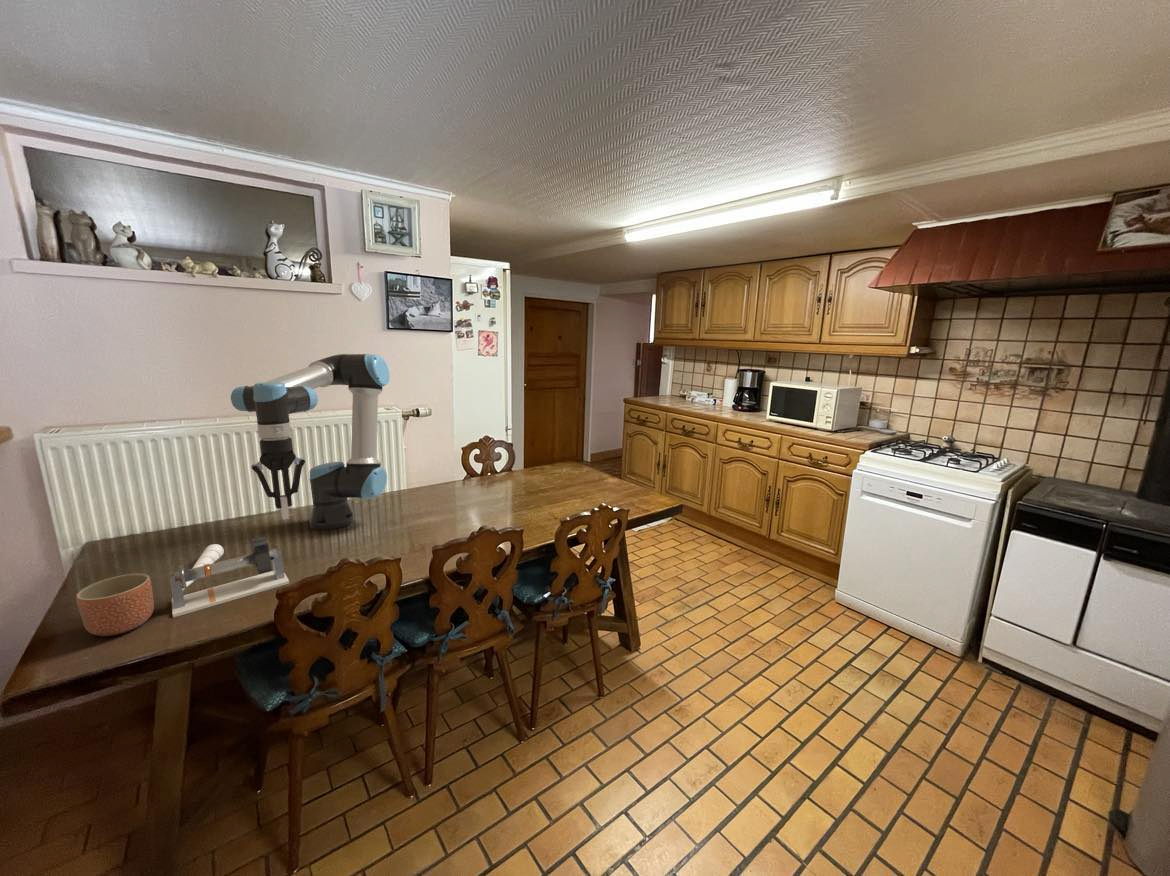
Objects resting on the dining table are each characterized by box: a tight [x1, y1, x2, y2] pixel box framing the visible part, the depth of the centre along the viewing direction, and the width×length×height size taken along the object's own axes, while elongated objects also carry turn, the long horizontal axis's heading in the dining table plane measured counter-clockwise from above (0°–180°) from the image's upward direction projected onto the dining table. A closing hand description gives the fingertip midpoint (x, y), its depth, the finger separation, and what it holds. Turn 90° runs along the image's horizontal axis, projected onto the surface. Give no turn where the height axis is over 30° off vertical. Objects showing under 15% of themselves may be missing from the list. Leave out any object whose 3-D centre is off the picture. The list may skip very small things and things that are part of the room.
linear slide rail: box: [169, 547, 285, 609], centre depth 125 cm, size 6×24×11 cm, turn 133°
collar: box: [250, 535, 273, 575], centre depth 129 cm, size 7×3×8 cm, turn 43°
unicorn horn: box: [183, 543, 225, 591], centre depth 136 cm, size 5×24×5 cm, turn 15°
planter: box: [75, 572, 155, 637], centre depth 109 cm, size 12×12×11 cm
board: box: [171, 570, 290, 618], centre depth 126 cm, size 10×25×1 cm, turn 133°
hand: (285, 517), depth 132 cm, fingers closed
